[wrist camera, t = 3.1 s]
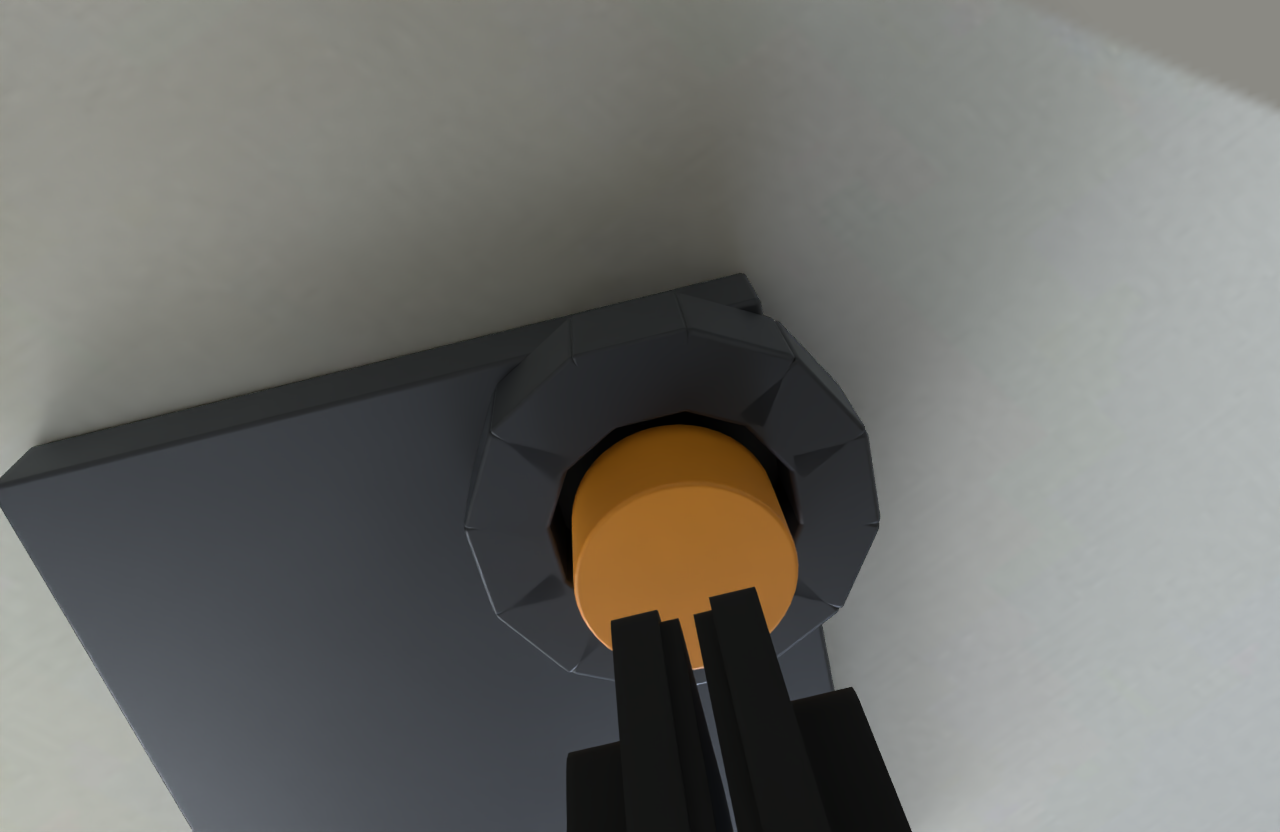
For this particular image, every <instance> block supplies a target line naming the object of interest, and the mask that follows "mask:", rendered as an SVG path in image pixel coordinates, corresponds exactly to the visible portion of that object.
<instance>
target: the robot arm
mask: <svg viewBox="0 0 1280 832" xmlns="http://www.w3.org/2000/svg"><path fill="white" fill-rule="evenodd" d="M709 601H710V605H711V610H709V611H705V612H701V613H697V614H693V616H694V621H695V626H696V631H697V636H698V641H699V645H700V650H701V655H702V660H703V665H704V670H705V675H706V680H707V685H708V690H709V695H710V700H711V704H712V709H713V714H714V719H715V724H716V729H717V734H718V739H719V744H720V749H721V754H722V758H723V763H724V768H725V773H726V778H727V783H728V788H729V793H730V798H731V803H732V808H733V813H734V817H735V822H736V827H737V832H912V831H911V828H910V826H909V823H908V821H907V818H906V816H905V813H904V811H903V808H902V806H901V803H900V801H899V798H898V796H897V793H896V791H895V788H894V786H893V783H892V781H891V778H890V776H889V773H888V771H887V768H886V766H885V763H884V761H883V758H882V756H881V753H880V751H879V748H878V746H877V743H876V741H875V738H874V736H873V733H872V731H871V728H870V726H869V723H868V721H867V718H866V716H865V713H864V711H863V708H862V706H861V703H860V701H859V699H858V696H857V694H856V692H855V690H854V689H853V688H852V687H849V688H844V689H840V690H836V691H832V692H827V693H823V694H819V695H814V696H810V697H806V698H801V699H797V700H793V701H790V698H789V694H788V691H787V688H786V685H785V681H784V678H783V675H782V672H781V668H780V665H779V662H778V659H777V656H776V652H775V649H774V646H773V643H772V639H771V636H770V633H769V630H768V626H767V623H766V620H765V617H764V613H763V610H762V607H761V604H760V601H759V597H758V594H757V591H756V588H755V586H754V587H750V588H746V589H742V590H738V591H733V592H729V593H725V594H721V595H716V596H712V597H709ZM611 637H612V650H613V663H614V675H615V688H616V701H617V713H618V726H619V739H620V741H617V742H613V743H609V744H604V745H600V746H596V747H591V748H587V749H583V750H578V751H574V752H570V753H568V756H567V762H566V806H567V832H734V831H733V826H732V821H731V816H730V812H729V807H728V803H727V799H726V794H725V790H724V786H723V783H722V779H721V775H720V771H719V768H718V764H717V760H716V756H715V752H714V749H713V745H712V741H711V737H710V734H709V730H708V726H707V722H706V718H705V715H704V711H703V707H702V703H701V700H700V696H699V692H698V688H697V684H696V681H695V677H694V673H693V669H692V665H691V662H690V658H689V654H688V650H687V647H686V643H685V639H684V635H683V631H682V628H681V624H680V621H679V618H676V619H671V620H667V621H663V622H661V618H660V615H659V612H658V610H653V611H649V612H645V613H640V614H636V615H632V616H628V617H624V618H619V619H615V620H611Z"/></svg>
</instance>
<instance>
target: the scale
mask: <svg viewBox="0 0 1280 832" xmlns="http://www.w3.org/2000/svg"><path fill="white" fill-rule="evenodd" d="M676 424H682V425H694V426H700V427H705V428H709V429H712V430H715V431H718V432H721V433H723V434H725V435H727V436H729V437H731V438H733V439H735V440H736V441H738V442H739V443H741V444H742V445H743V446H745V447H746V448H747V449H748V450H749V451H751V452H752V454H753V455H754V456H755V457H756V458H757V459H758V460H759V462H760V463H761V465H762V466H763V468H764V469H765V471H766V473H767V475H768V477H769V479H770V482H771V484H772V487H773V489H774V492H775V494H776V497H777V500H778V502H779V505H780V507H781V510H782V512H783V515H784V517H785V520H786V522H787V525H788V528H789V530H790V533H791V535H792V538H793V540H794V544H795V547H796V551H797V556H798V565H799V566H798V580H797V585H796V590H795V593H794V596H793V599H792V601H791V604H790V606H789V608H788V610H787V612H786V614H785V615H784V617H783V618H782V620H781V621H780V623H779V624H778V625H777V626H776V628H775V629H774V630H773V631H772V632H771V633H770V636H771V639H772V643H773V646H774V649H775V652H776V656H777V659H778V662H779V665H780V668H781V672H782V675H783V678H784V681H785V685H786V688H787V691H788V694H789V698H790V701H793V700H797V699H801V698H806V697H810V696H814V695H819V694H823V693H827V692H832V691H834V686H833V680H832V675H831V670H830V665H829V659H828V654H827V649H826V643H825V638H824V633H823V627H822V624H823V623H824V622H825V621H827V620H828V619H829V618H831V617H832V616H833V615H835V614H836V613H837V612H838V610H839V608H842V607H843V606H844V603H845V601H846V599H847V597H848V595H849V592H850V590H851V588H852V586H853V584H854V582H855V579H856V577H857V575H858V573H859V571H860V568H861V566H862V564H863V562H864V560H865V558H866V555H867V553H868V551H869V549H870V547H871V545H872V542H873V540H874V538H875V536H876V534H877V531H878V529H879V521H880V511H879V504H878V497H877V490H876V484H875V477H874V470H873V464H872V457H871V450H870V443H869V437H868V433H867V432H866V430H865V426H864V424H863V423H862V421H861V420H860V418H859V416H858V415H857V413H856V412H855V410H854V408H853V407H852V405H851V404H850V402H849V401H848V399H847V397H846V396H845V394H844V393H843V391H842V389H841V388H840V386H839V385H838V384H837V383H836V381H835V380H834V379H833V378H832V377H831V376H830V375H829V374H828V373H827V372H826V371H825V370H824V369H823V368H822V367H821V366H820V364H819V363H818V362H817V361H816V360H815V359H814V358H813V357H812V356H811V355H810V354H809V353H808V352H807V351H806V350H805V348H804V347H803V346H802V345H801V344H800V343H799V342H798V341H797V340H796V339H795V338H794V337H793V336H792V335H791V334H790V333H789V331H788V330H787V329H786V328H785V327H784V326H783V325H782V324H781V323H780V322H778V321H774V320H773V319H772V318H770V317H767V316H764V315H763V310H762V305H761V301H760V299H759V298H758V296H757V294H756V292H755V290H754V289H753V287H752V285H751V283H750V281H749V280H748V278H747V276H746V275H745V274H742V273H740V274H735V275H731V276H727V277H723V278H719V279H715V280H711V281H707V282H703V283H699V284H695V285H691V286H687V287H683V288H679V289H674V290H670V291H666V292H662V293H658V294H654V295H650V296H646V297H642V298H638V299H634V300H630V301H626V302H622V303H618V304H613V305H609V306H605V307H601V308H597V309H593V310H589V311H585V312H581V313H577V314H573V315H569V316H565V317H561V318H557V319H552V320H548V321H544V322H540V323H536V324H532V325H528V326H524V327H520V328H516V329H512V330H508V331H504V332H500V333H496V334H491V335H487V336H483V337H479V338H475V339H471V340H467V341H463V342H459V343H455V344H451V345H447V346H443V347H439V348H435V349H430V350H426V351H422V352H418V353H414V354H410V355H406V356H402V357H398V358H394V359H390V360H386V361H382V362H378V363H374V364H369V365H365V366H361V367H357V368H353V369H349V370H345V371H341V372H337V373H333V374H329V375H325V376H321V377H317V378H313V379H308V380H304V381H300V382H296V383H292V384H288V385H284V386H280V387H276V388H272V389H268V390H264V391H260V392H256V393H251V394H247V395H243V396H239V397H235V398H231V399H227V400H223V401H219V402H215V403H211V404H207V405H203V406H199V407H195V408H190V409H186V410H182V411H178V412H174V413H170V414H166V415H162V416H158V417H154V418H150V419H146V420H142V421H138V422H134V423H129V424H125V425H121V426H117V427H113V428H109V429H105V430H101V431H97V432H93V433H89V434H85V435H81V436H77V437H73V438H68V439H64V440H60V441H56V442H52V443H48V444H44V445H40V446H36V447H32V448H31V449H29V450H28V451H27V452H26V453H25V454H24V455H23V456H22V457H21V458H20V459H19V460H18V461H17V462H16V463H15V464H14V465H13V466H12V467H11V468H10V469H9V470H8V471H7V472H6V473H5V474H4V475H3V476H2V477H1V478H0V507H1V509H2V511H3V512H4V514H5V516H6V517H7V519H8V521H9V522H10V524H11V526H12V527H13V529H14V531H15V532H16V534H17V536H18V538H19V539H20V541H21V543H22V544H23V546H24V548H25V549H26V551H27V553H28V554H29V556H30V558H31V559H32V561H33V563H34V564H35V566H36V568H37V570H38V571H39V573H40V575H41V576H42V578H43V580H44V581H45V583H46V585H47V586H48V588H49V590H50V591H51V593H52V595H53V596H54V598H55V600H56V602H57V603H58V605H59V607H60V608H61V610H62V612H63V613H64V615H65V617H66V618H67V620H68V622H69V623H70V625H71V627H72V628H73V630H74V632H75V634H76V635H77V637H78V639H79V640H80V642H81V644H82V645H83V647H84V649H85V650H86V652H87V654H88V655H89V657H90V659H91V660H92V662H93V664H94V666H95V667H96V669H97V671H98V672H99V674H100V676H101V677H102V679H103V681H104V682H105V684H106V686H107V687H108V689H109V691H110V692H111V694H112V696H113V698H114V699H115V701H116V703H117V704H118V706H119V708H120V709H121V711H122V713H123V714H124V716H125V718H126V719H127V721H128V723H129V724H130V726H131V728H132V730H133V731H134V733H135V735H136V736H137V738H138V740H139V741H140V743H141V745H142V746H143V748H144V750H145V751H146V753H147V755H148V756H149V758H150V760H151V762H152V763H153V765H154V767H155V768H156V770H157V772H158V773H159V775H160V777H161V778H162V780H163V782H164V783H165V785H166V787H167V788H168V790H169V792H170V794H171V795H172V797H173V799H174V800H175V802H176V804H177V805H178V807H179V809H180V810H181V812H182V814H183V815H184V817H185V819H186V820H187V822H188V824H189V825H190V827H191V829H192V831H193V832H567V806H566V762H567V756H568V753H570V752H574V751H578V750H583V749H587V748H591V747H596V746H600V745H604V744H609V743H613V742H617V741H620V739H619V726H618V713H617V701H616V688H615V675H614V663H613V651H612V650H610V649H609V648H608V647H606V646H605V645H604V644H603V643H602V642H601V641H600V640H599V639H598V638H597V637H596V636H595V635H594V634H593V633H592V631H591V630H590V629H589V628H588V626H587V625H586V623H585V621H584V619H583V618H582V616H581V614H580V611H579V609H578V606H577V603H576V598H575V594H574V582H573V547H572V508H573V502H574V498H575V494H576V491H577V489H578V486H579V484H580V482H581V480H582V478H583V477H584V475H585V473H586V472H587V470H588V469H589V468H590V466H591V465H592V464H593V462H594V461H595V460H596V459H597V458H598V457H599V456H600V455H601V454H602V453H603V452H605V451H606V450H607V449H608V448H610V447H611V446H612V445H614V444H615V443H617V442H618V441H620V440H622V439H624V438H625V437H627V436H630V435H632V434H634V433H636V432H639V431H642V430H645V429H649V428H652V427H658V426H663V425H676ZM693 673H694V677H695V681H696V684H697V688H698V692H699V696H700V700H701V703H702V707H703V711H704V715H705V718H706V722H707V726H708V730H709V734H710V737H711V741H712V745H713V749H714V752H715V756H716V760H717V764H718V768H719V771H720V775H721V779H722V783H723V786H724V790H725V794H726V799H727V803H728V807H729V812H730V816H731V821H732V826H733V831H734V832H737V827H736V822H735V817H734V813H733V808H732V803H731V798H730V793H729V788H728V783H727V778H726V773H725V768H724V763H723V758H722V754H721V749H720V744H719V739H718V734H717V729H716V724H715V719H714V714H713V709H712V704H711V700H710V695H709V690H708V685H707V680H706V675H705V670H704V668H701V669H696V670H693Z"/></svg>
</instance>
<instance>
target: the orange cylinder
mask: <svg viewBox="0 0 1280 832" xmlns="http://www.w3.org/2000/svg"><path fill="white" fill-rule="evenodd" d="M572 547H573V582H574V594H575V598H576V603H577V606H578V609H579V611H580V614H581V616H582V618H583V619H584V621H585V623H586V625H587V626H588V628H589V629H590V630H591V631H592V633H593V634H594V635H595V636H596V637H597V638H598V639H599V640H600V641H601V642H602V643H603V644H604V645H605V646H606V647H608V648H609V649H610V650H612V637H611V620H615V619H619V618H624V617H628V616H632V615H636V614H640V613H645V612H649V611H653V610H658V612H659V615H660V618H661V622H663V621H667V620H671V619H676V618H679V621H680V624H681V628H682V631H683V635H684V639H685V643H686V647H687V650H688V654H689V658H690V662H691V665H692V669H693V670H696V669H701V668H704V665H703V660H702V655H701V650H700V645H699V641H698V636H697V631H696V626H695V621H694V616H693V614H697V613H701V612H705V611H709V610H711V605H710V601H709V597H712V596H716V595H721V594H725V593H729V592H733V591H738V590H742V589H746V588H750V587H754V586H755V588H756V591H757V594H758V597H759V601H760V604H761V607H762V610H763V613H764V617H765V620H766V623H767V626H768V630H769V633H771V632H772V631H773V630H774V629H775V628H776V626H777V625H778V624H779V623H780V621H781V620H782V618H783V617H784V615H785V614H786V612H787V610H788V608H789V606H790V604H791V601H792V599H793V596H794V593H795V590H796V585H797V580H798V566H799V565H798V556H797V551H796V547H795V544H794V540H793V538H792V535H791V533H790V530H789V528H788V525H787V522H786V520H785V517H784V515H783V512H782V510H781V507H780V505H779V502H778V500H777V497H776V494H775V492H774V489H773V487H772V484H771V482H770V479H769V477H768V475H767V473H766V471H765V469H764V468H763V466H762V465H761V463H760V462H759V460H758V459H757V458H756V457H755V456H754V455H753V454H752V452H751V451H749V450H748V449H747V448H746V447H745V446H743V445H742V444H741V443H739V442H738V441H736V440H735V439H733V438H731V437H729V436H727V435H725V434H723V433H721V432H718V431H715V430H712V429H709V428H705V427H700V426H694V425H682V424H676V425H663V426H658V427H652V428H649V429H645V430H642V431H639V432H636V433H634V434H632V435H630V436H627V437H625V438H624V439H622V440H620V441H618V442H617V443H615V444H614V445H612V446H611V447H610V448H608V449H607V450H606V451H605V452H603V453H602V454H601V455H600V456H599V457H598V458H597V459H596V460H595V461H594V462H593V464H592V465H591V466H590V468H589V469H588V470H587V472H586V473H585V475H584V477H583V478H582V480H581V482H580V484H579V486H578V489H577V491H576V494H575V498H574V502H573V508H572ZM612 651H613V650H612Z"/></svg>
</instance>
